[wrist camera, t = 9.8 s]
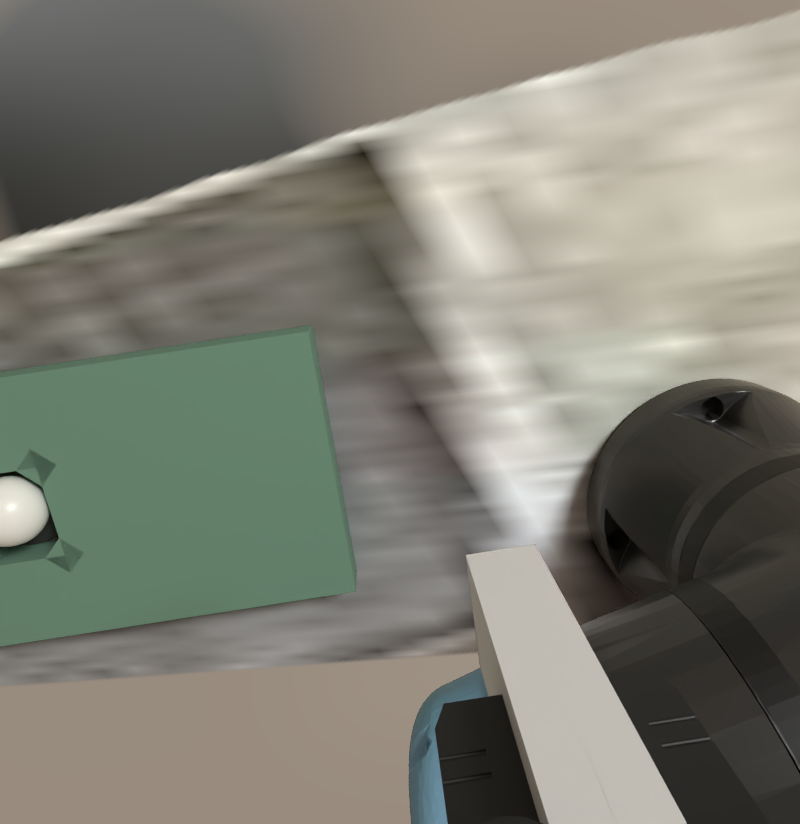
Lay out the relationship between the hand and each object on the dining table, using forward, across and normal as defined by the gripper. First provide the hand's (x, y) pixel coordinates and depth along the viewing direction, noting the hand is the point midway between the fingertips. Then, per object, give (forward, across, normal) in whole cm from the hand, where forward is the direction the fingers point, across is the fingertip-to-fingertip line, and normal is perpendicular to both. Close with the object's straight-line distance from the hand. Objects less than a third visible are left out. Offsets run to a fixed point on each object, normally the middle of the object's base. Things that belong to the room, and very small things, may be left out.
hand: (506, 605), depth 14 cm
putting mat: (+24, +19, +4) cm, 31 cm away
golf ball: (+22, +24, +4) cm, 33 cm away
